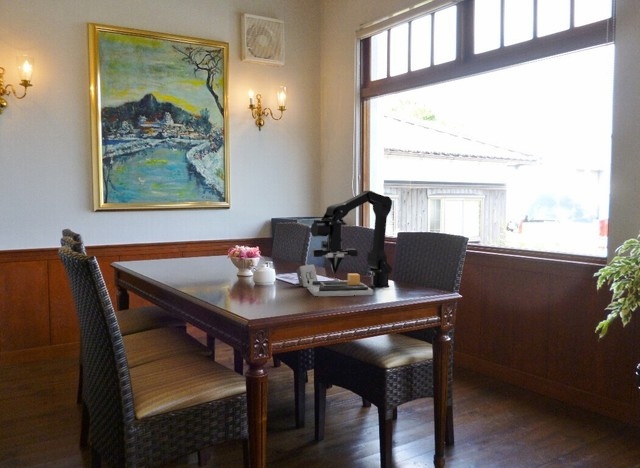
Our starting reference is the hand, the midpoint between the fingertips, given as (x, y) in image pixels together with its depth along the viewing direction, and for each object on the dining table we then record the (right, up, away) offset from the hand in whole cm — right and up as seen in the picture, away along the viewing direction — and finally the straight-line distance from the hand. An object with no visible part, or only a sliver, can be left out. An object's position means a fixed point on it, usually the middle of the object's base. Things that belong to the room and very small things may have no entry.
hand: (334, 273), depth 235 cm
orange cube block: (+8, -5, 0) cm, 10 cm away
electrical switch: (-12, -7, +14) cm, 20 cm away
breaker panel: (+2, -8, -1) cm, 8 cm away
